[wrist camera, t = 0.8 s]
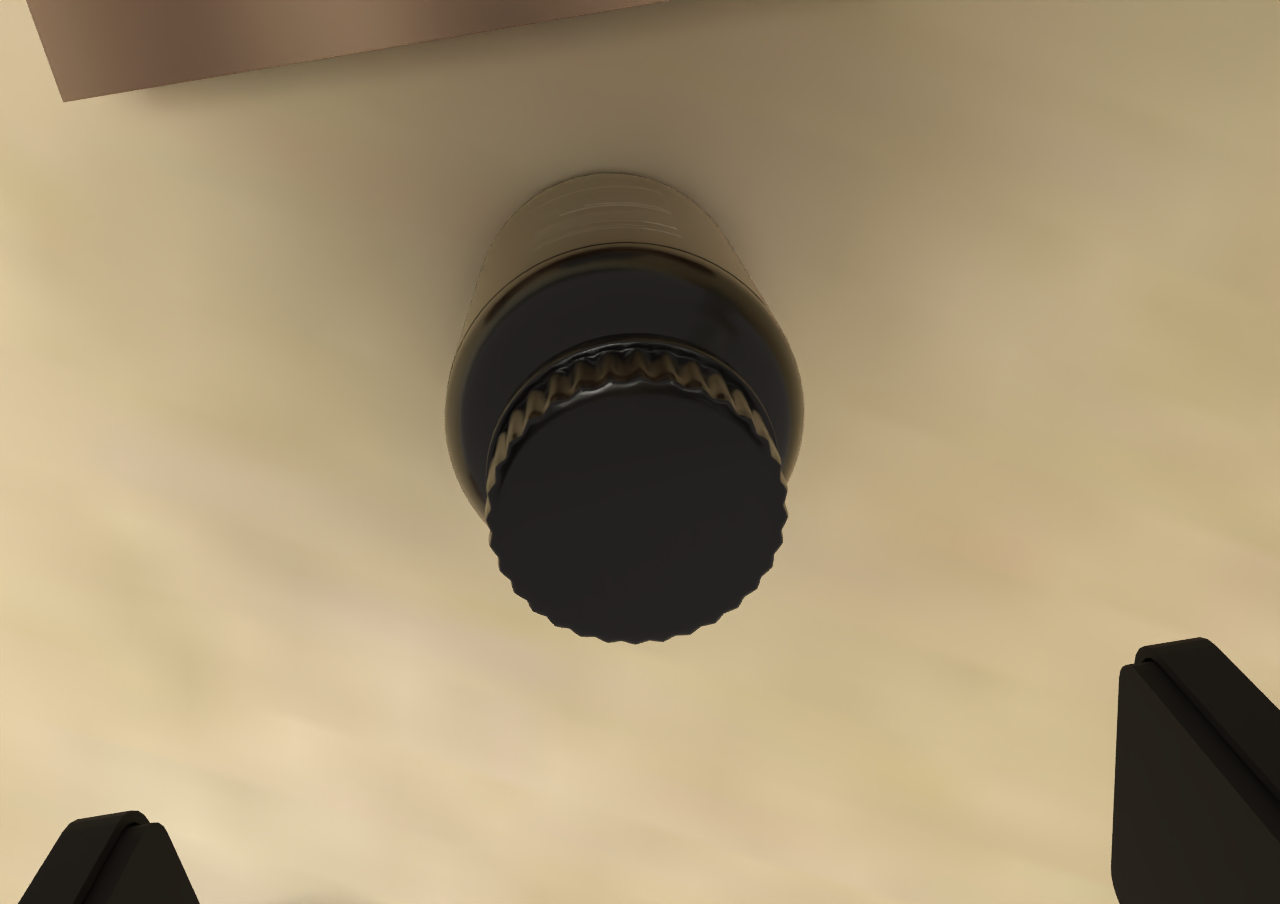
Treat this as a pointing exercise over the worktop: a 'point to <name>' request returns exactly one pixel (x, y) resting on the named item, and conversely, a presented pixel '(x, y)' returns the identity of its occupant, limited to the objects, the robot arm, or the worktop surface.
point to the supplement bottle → (624, 411)
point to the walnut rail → (253, 34)
